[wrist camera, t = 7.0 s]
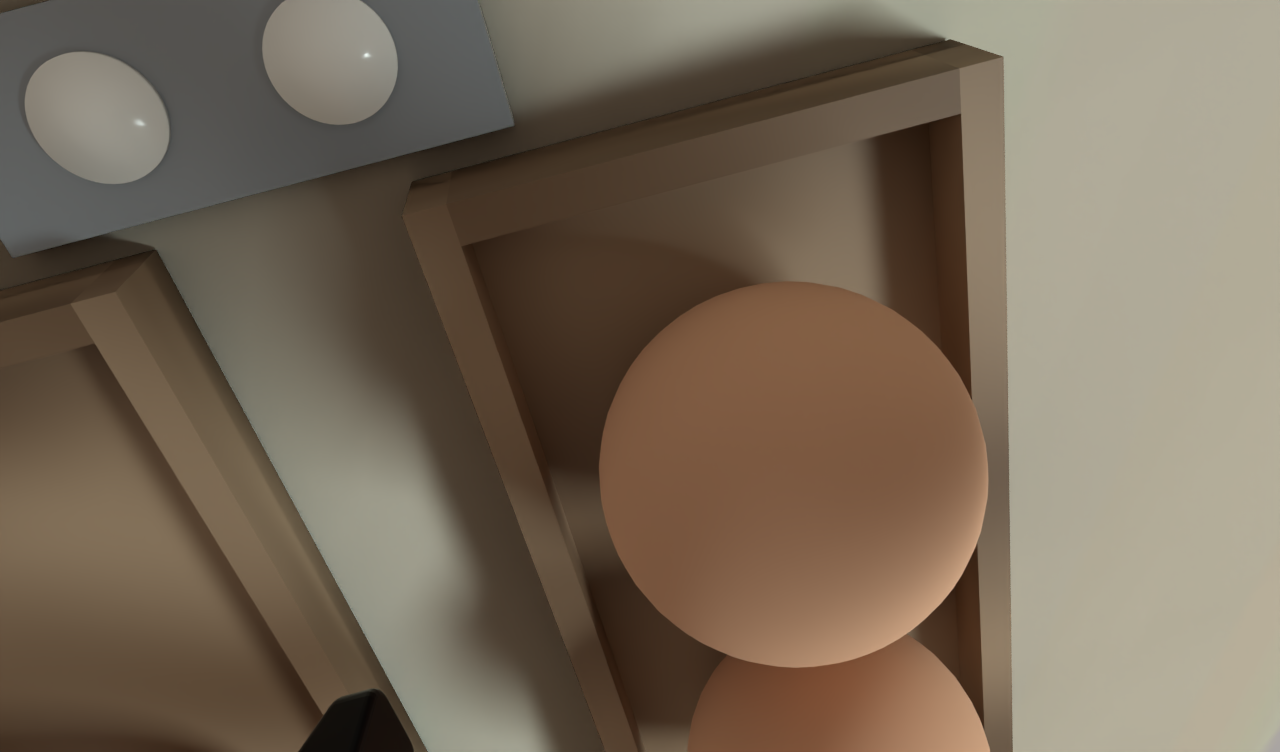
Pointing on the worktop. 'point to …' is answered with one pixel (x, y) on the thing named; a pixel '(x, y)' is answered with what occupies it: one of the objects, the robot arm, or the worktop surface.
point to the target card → (222, 102)
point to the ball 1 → (793, 474)
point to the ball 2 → (838, 706)
